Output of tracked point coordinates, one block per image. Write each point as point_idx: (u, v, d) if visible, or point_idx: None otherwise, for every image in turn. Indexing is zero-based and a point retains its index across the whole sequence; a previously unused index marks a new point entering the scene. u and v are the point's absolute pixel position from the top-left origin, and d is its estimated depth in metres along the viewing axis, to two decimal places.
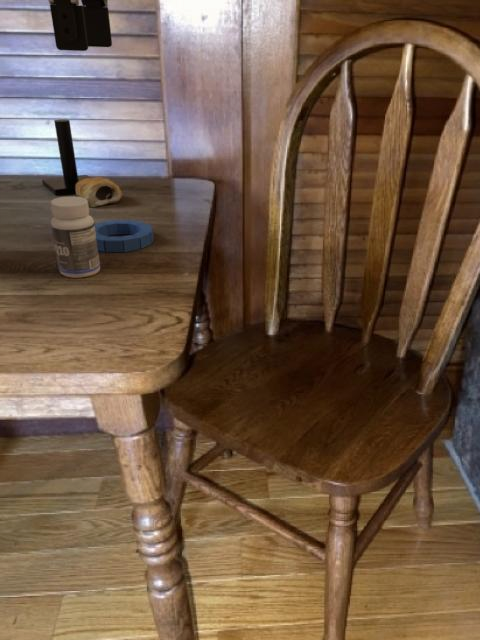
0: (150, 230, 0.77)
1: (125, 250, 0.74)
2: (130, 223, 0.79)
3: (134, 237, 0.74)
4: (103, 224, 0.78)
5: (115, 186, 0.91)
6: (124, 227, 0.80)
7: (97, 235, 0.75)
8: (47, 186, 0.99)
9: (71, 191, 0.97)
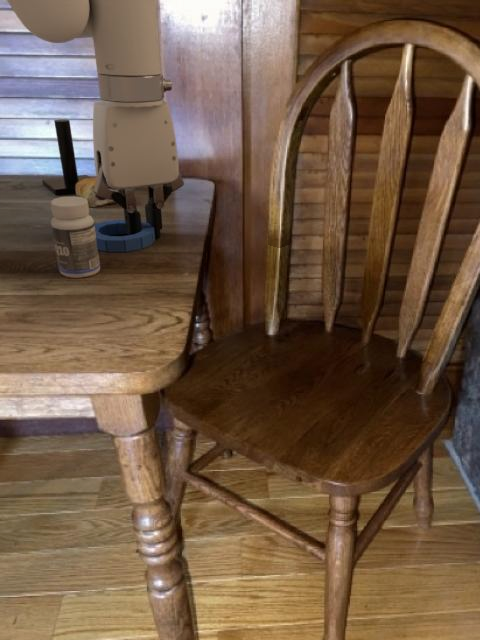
0: (152, 230, 0.77)
1: (127, 250, 0.74)
2: None
3: (136, 237, 0.74)
4: (104, 224, 0.79)
5: None
6: None
7: (99, 235, 0.75)
8: (47, 186, 0.99)
9: (71, 191, 0.97)
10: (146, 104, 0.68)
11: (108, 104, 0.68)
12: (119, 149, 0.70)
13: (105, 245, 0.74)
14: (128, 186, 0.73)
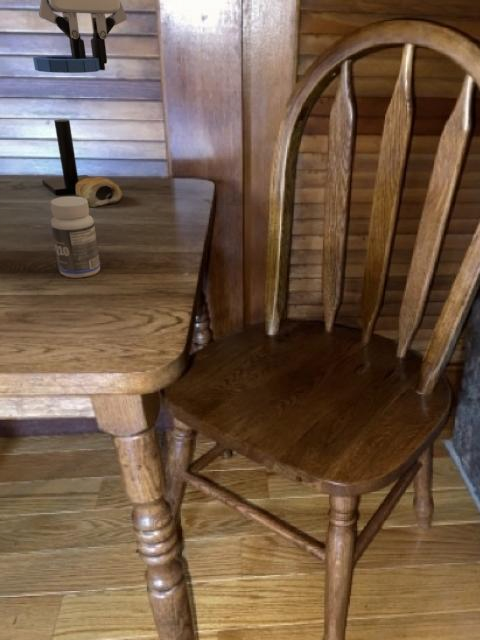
0: (95, 58, 0.83)
1: (69, 71, 0.80)
2: None
3: (78, 59, 0.80)
4: (53, 56, 0.84)
5: (115, 186, 0.91)
6: None
7: (44, 58, 0.80)
8: (47, 186, 0.99)
9: (71, 191, 0.97)
10: None
11: None
12: None
13: (49, 65, 0.79)
14: (70, 9, 0.79)
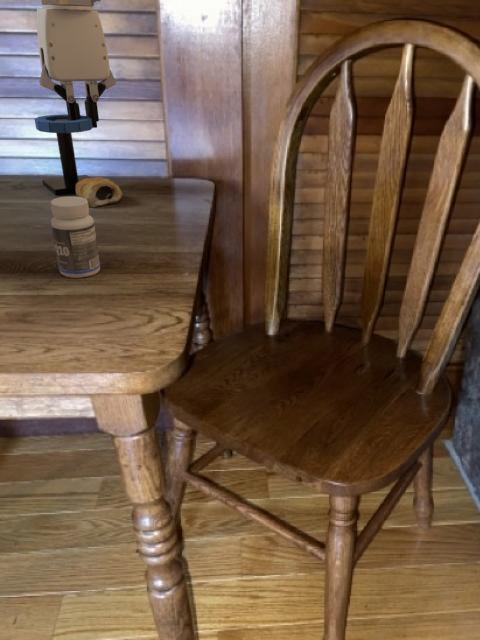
0: (89, 119, 0.95)
1: (66, 131, 0.92)
2: None
3: (74, 121, 0.92)
4: (51, 116, 0.97)
5: (115, 186, 0.91)
6: None
7: (44, 120, 0.93)
8: (47, 186, 0.99)
9: (71, 191, 0.97)
10: (77, 7, 0.86)
11: (47, 7, 0.86)
12: (57, 45, 0.88)
13: (49, 127, 0.92)
14: (67, 78, 0.91)
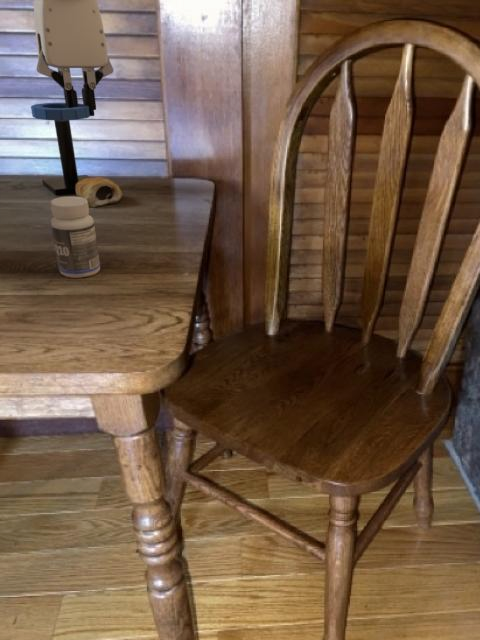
0: (86, 106, 0.94)
1: (63, 118, 0.91)
2: None
3: (71, 108, 0.91)
4: (48, 103, 0.95)
5: (115, 186, 0.91)
6: None
7: (41, 107, 0.91)
8: (47, 186, 0.99)
9: (71, 191, 0.97)
10: None
11: None
12: (54, 31, 0.87)
13: (45, 114, 0.90)
14: (64, 65, 0.90)
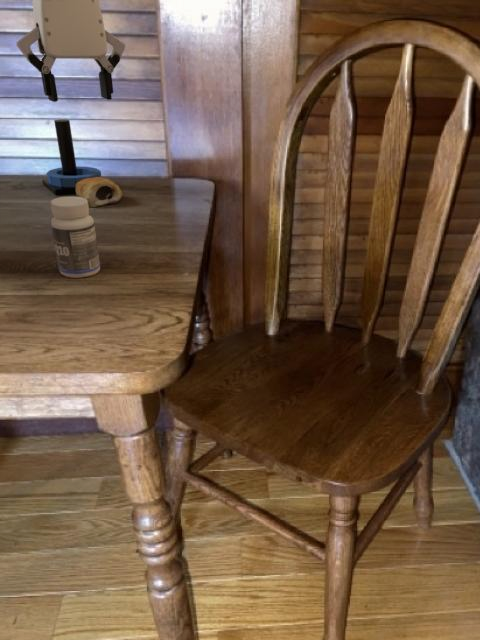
0: (98, 172, 1.00)
1: None
2: (84, 168, 1.02)
3: (84, 176, 0.97)
4: None
5: (115, 186, 0.91)
6: (79, 171, 1.02)
7: (56, 174, 0.97)
8: (47, 186, 0.99)
9: (71, 191, 0.97)
10: None
11: None
12: (53, 20, 0.86)
13: (60, 182, 0.96)
14: (63, 55, 0.89)
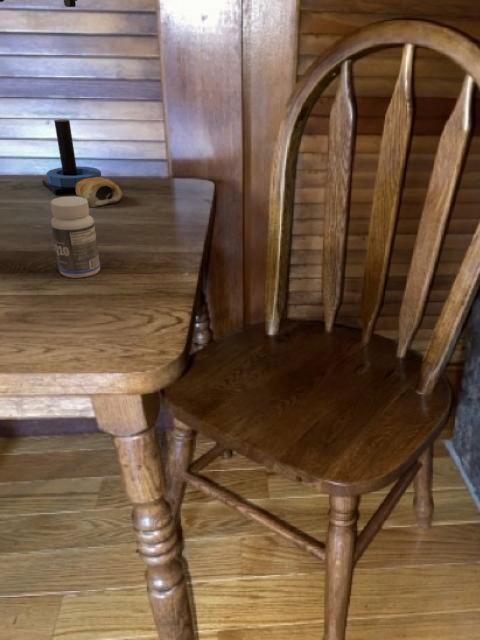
0: (98, 172, 1.00)
1: None
2: (84, 168, 1.02)
3: (84, 176, 0.97)
4: None
5: (115, 186, 0.91)
6: (79, 171, 1.02)
7: (56, 174, 0.97)
8: (47, 186, 0.99)
9: (71, 191, 0.97)
10: None
11: None
12: None
13: (60, 182, 0.96)
14: None
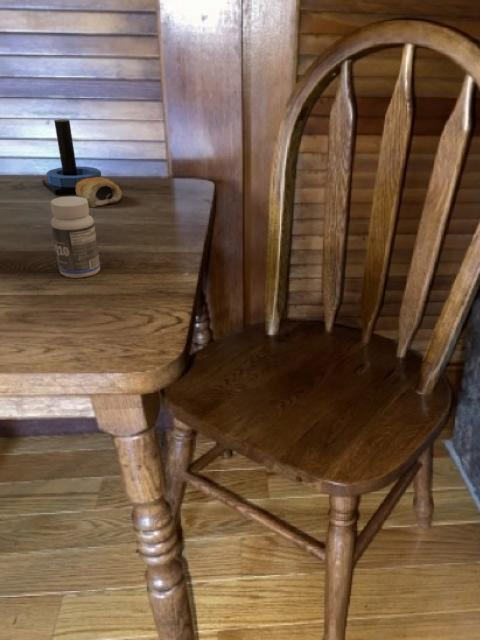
0: (98, 172, 1.00)
1: None
2: (84, 168, 1.02)
3: (84, 176, 0.97)
4: None
5: (115, 186, 0.91)
6: (79, 171, 1.02)
7: (56, 174, 0.97)
8: (47, 186, 0.99)
9: (71, 191, 0.97)
10: None
11: None
12: None
13: (60, 182, 0.96)
14: None
